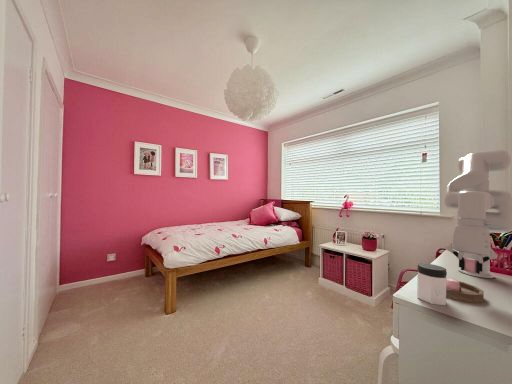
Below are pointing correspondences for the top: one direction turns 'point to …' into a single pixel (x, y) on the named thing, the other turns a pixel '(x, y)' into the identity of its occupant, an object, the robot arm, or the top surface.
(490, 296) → the top surface
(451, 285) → the bead
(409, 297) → the top surface
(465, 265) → the bead
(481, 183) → the robot arm
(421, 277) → the jar
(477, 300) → the tray
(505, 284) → the top surface
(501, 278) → the top surface
